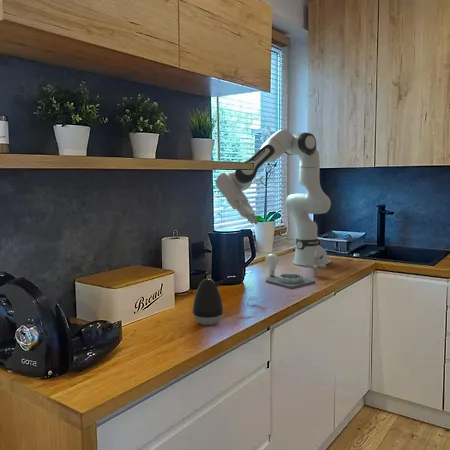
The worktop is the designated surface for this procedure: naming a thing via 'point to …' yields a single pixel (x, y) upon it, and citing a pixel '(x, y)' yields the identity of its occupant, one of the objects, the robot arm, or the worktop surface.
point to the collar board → (294, 285)
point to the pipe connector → (315, 265)
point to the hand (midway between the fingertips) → (255, 223)
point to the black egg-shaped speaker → (208, 303)
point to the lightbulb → (272, 263)
